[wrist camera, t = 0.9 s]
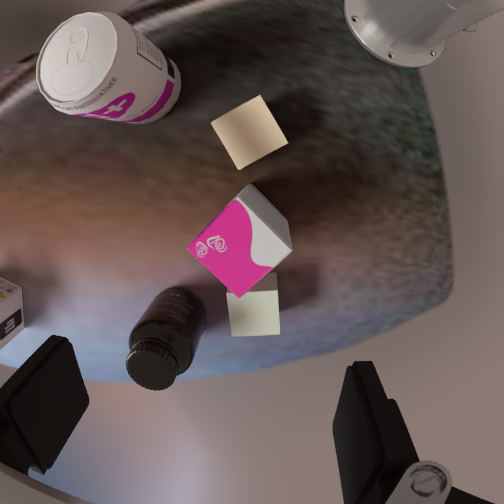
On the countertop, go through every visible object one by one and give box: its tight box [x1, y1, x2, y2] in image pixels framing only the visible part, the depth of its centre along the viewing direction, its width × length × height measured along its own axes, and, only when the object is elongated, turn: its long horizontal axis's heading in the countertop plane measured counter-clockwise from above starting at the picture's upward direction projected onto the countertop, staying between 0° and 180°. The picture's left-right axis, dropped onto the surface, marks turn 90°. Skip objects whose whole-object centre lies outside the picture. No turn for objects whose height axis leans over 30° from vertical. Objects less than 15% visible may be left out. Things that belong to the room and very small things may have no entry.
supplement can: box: [36, 12, 181, 124], centre depth 24 cm, size 8×8×15 cm
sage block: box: [226, 272, 280, 337], centre depth 35 cm, size 5×5×5 cm
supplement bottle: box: [126, 288, 206, 390], centre depth 32 cm, size 7×7×12 cm
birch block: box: [211, 95, 288, 170], centre depth 30 cm, size 5×5×5 cm
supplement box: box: [187, 183, 293, 298], centre depth 29 cm, size 6×6×11 cm
